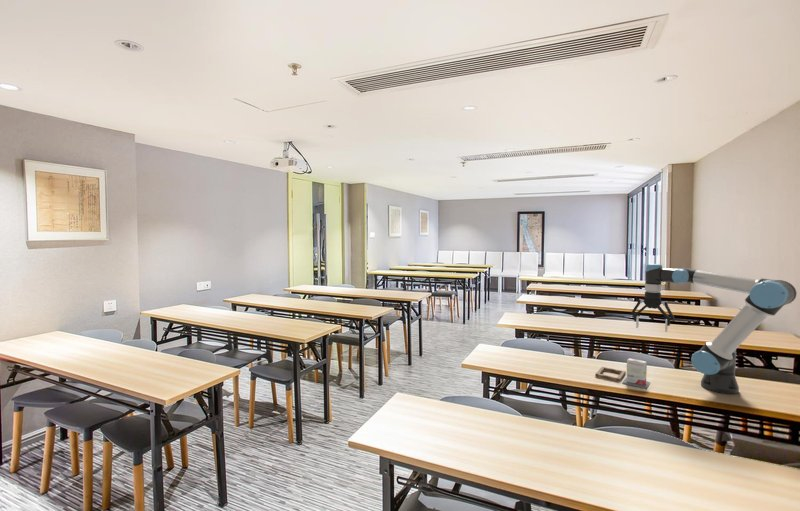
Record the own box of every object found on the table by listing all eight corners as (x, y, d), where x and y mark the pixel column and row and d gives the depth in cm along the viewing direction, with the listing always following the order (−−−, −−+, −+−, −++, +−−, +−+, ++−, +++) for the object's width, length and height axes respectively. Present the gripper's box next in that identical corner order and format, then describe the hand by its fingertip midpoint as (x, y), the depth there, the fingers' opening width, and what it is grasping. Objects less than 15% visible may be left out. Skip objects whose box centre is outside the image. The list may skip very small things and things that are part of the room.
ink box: (646, 383, 203) (647, 361, 202) (644, 385, 199) (645, 363, 199) (628, 379, 209) (628, 357, 208) (626, 381, 205) (626, 359, 204)
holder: (625, 374, 218) (625, 371, 218) (619, 382, 205) (619, 378, 205) (602, 369, 225) (602, 366, 225) (595, 376, 213) (595, 373, 213)
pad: (649, 383, 205) (649, 381, 205) (646, 389, 196) (646, 387, 196) (626, 378, 212) (626, 377, 212) (622, 383, 203) (622, 382, 203)
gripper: (681, 293, 207) (679, 331, 208) (628, 289, 223) (627, 324, 224) (680, 294, 201) (678, 334, 202) (625, 290, 218) (624, 327, 218)
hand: (651, 329), depth 213 cm, fingers open, 13 cm apart
